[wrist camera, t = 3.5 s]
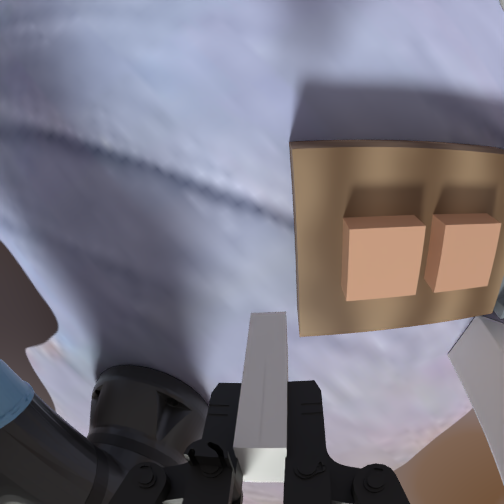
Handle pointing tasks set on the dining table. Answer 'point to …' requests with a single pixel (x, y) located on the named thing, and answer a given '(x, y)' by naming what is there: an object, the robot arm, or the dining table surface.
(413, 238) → the tile
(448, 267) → the tile
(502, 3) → the wineglass
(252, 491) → the dining table surface
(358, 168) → the board
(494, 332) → the milk
